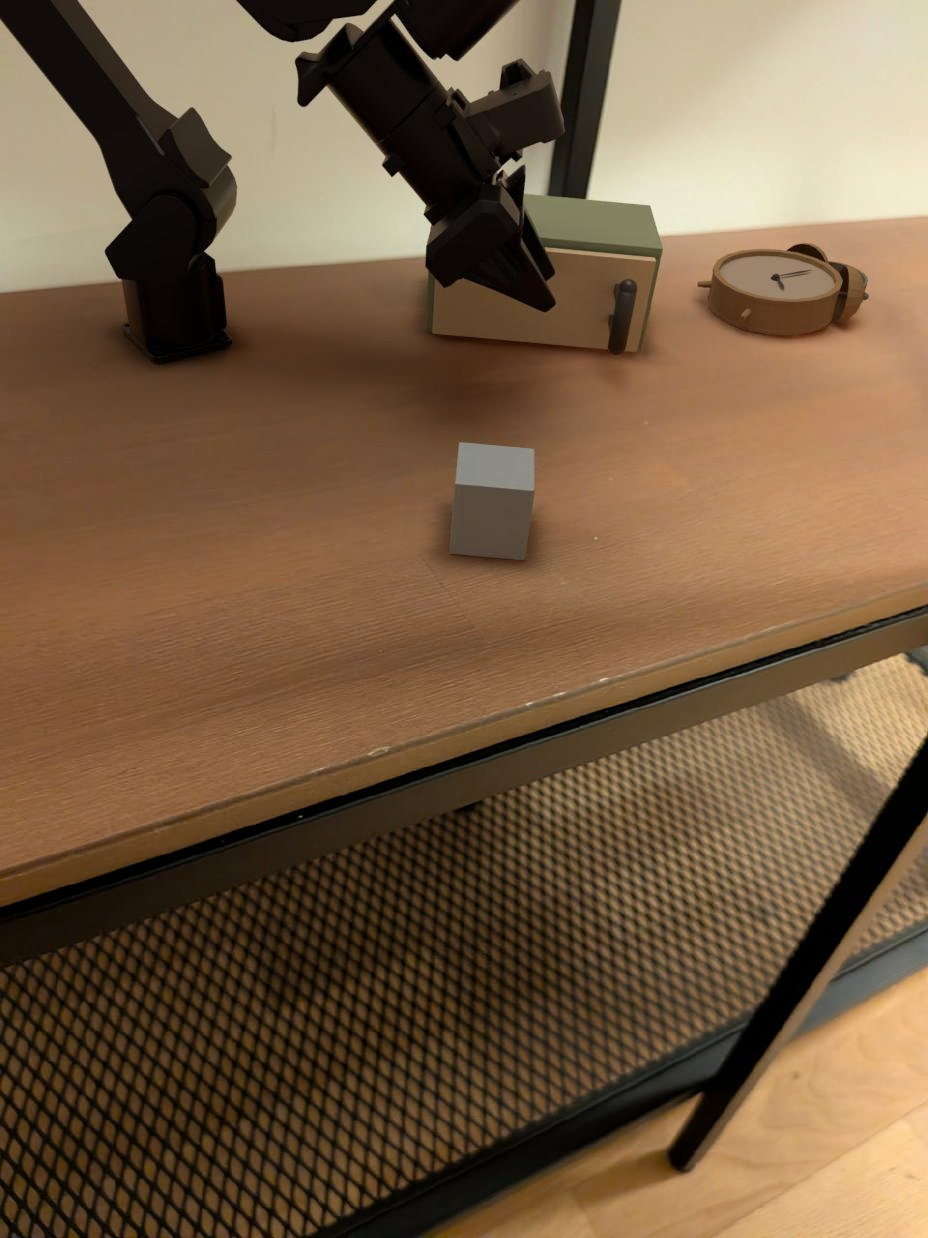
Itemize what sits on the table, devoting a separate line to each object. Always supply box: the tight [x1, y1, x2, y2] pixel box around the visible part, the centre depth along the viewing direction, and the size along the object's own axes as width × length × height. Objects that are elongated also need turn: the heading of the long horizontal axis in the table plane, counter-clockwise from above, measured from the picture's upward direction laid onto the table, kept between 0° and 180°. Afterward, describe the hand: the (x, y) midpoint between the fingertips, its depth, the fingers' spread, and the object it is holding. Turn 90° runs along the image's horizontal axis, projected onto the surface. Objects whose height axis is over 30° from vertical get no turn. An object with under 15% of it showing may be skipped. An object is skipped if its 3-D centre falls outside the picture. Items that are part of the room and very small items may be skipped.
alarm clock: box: [697, 242, 870, 336], centre depth 87 cm, size 11×5×15 cm
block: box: [449, 441, 536, 561], centre depth 57 cm, size 4×4×5 cm
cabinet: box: [424, 193, 664, 352], centre depth 80 cm, size 18×10×8 cm, turn 87°
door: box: [431, 247, 656, 356], centre depth 74 cm, size 17×6×8 cm, turn 87°
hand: (550, 291), depth 70 cm, fingers open, 5 cm apart
